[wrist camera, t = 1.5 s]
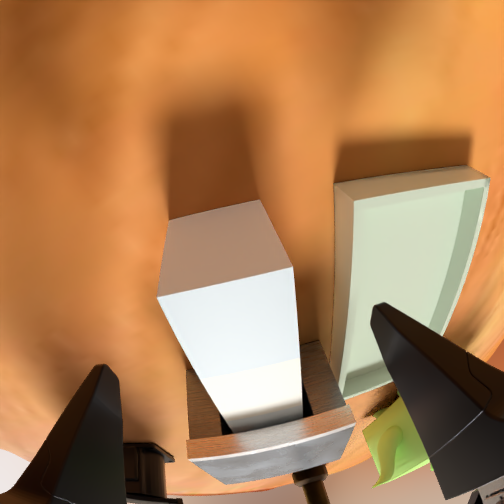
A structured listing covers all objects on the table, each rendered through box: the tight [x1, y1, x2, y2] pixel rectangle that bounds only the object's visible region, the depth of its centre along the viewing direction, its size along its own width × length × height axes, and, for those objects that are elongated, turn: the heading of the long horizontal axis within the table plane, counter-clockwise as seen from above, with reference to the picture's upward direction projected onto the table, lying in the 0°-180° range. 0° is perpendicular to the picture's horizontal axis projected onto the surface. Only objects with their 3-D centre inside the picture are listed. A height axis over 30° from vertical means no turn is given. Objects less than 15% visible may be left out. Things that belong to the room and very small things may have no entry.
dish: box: [330, 165, 490, 400], centre depth 17 cm, size 17×9×2 cm, turn 9°
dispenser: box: [186, 340, 356, 485], centre depth 17 cm, size 9×9×7 cm
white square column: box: [157, 199, 303, 434], centre depth 14 cm, size 14×4×5 cm, turn 9°
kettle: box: [362, 391, 433, 488], centre depth 25 cm, size 15×14×11 cm
